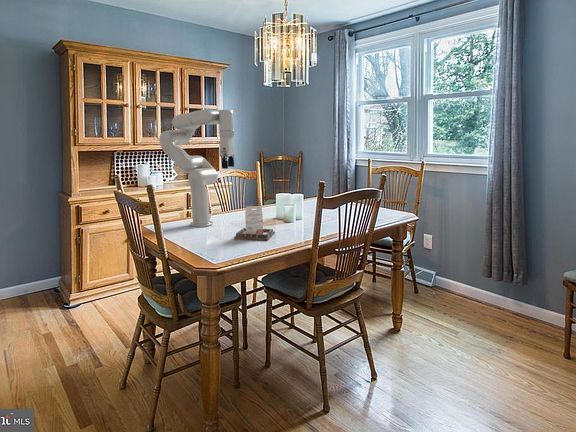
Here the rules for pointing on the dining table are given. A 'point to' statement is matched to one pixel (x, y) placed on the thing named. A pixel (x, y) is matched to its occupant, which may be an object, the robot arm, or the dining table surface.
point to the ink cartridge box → (254, 220)
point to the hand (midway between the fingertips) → (228, 167)
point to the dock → (255, 235)
